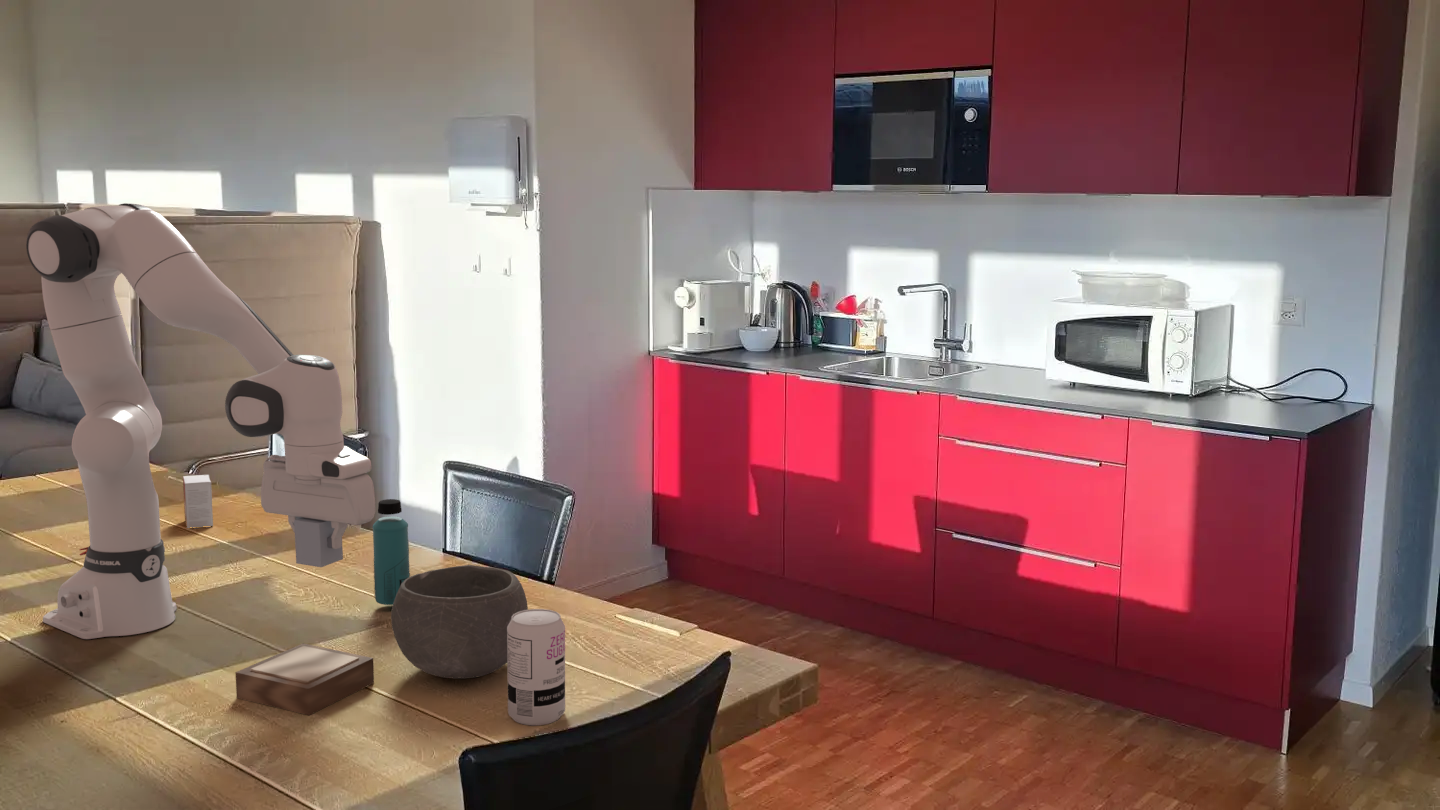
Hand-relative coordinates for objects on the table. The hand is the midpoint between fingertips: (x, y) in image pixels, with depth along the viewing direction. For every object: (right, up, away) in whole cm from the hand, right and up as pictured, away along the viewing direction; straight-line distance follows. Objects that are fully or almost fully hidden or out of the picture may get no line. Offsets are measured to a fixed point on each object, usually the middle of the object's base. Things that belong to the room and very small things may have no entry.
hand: (318, 545), depth 200 cm
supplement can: (+37, -23, -16) cm, 46 cm away
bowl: (+22, -20, +1) cm, 30 cm away
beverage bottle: (+4, -15, +31) cm, 35 cm away
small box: (-54, -5, +86) cm, 102 cm away
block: (0, -3, +1) cm, 3 cm away
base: (+1, -21, -8) cm, 23 cm away
